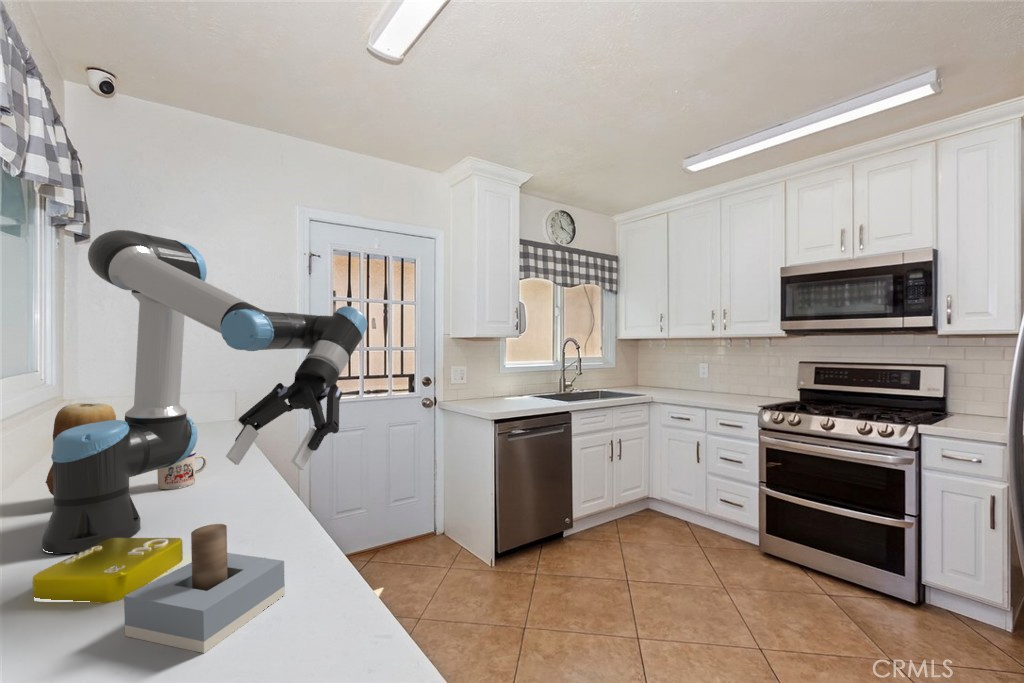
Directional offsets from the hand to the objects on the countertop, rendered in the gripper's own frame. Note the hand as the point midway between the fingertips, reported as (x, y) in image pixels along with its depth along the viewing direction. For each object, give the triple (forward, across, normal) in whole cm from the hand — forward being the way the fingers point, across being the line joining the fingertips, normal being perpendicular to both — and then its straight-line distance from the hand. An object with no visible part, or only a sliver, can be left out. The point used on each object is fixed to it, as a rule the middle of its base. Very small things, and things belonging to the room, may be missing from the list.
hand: (263, 463), depth 79 cm
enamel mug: (-12, +65, -40) cm, 77 cm away
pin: (+20, 0, -5) cm, 21 cm away
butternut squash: (0, +77, -28) cm, 82 cm away
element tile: (+19, +26, -10) cm, 34 cm away
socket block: (+21, 0, -6) cm, 22 cm away
